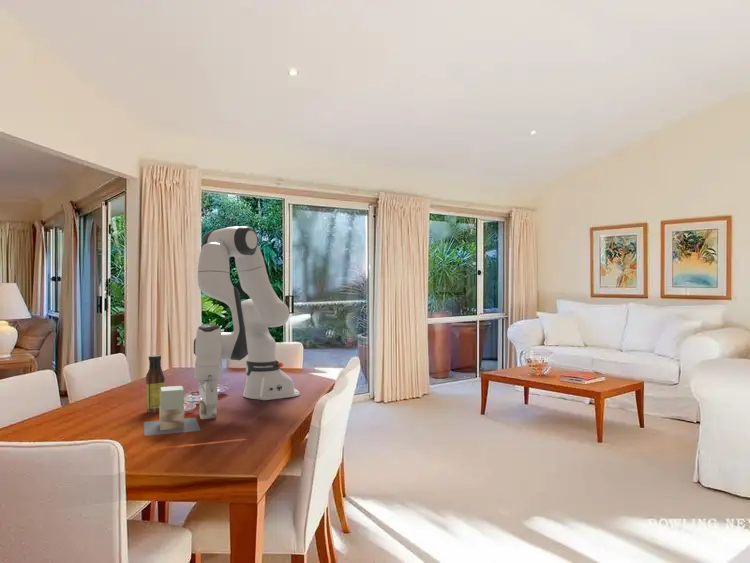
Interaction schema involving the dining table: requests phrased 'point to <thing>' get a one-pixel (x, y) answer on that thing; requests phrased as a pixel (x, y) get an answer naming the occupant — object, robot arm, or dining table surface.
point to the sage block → (172, 398)
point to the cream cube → (203, 411)
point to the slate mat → (154, 429)
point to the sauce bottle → (154, 384)
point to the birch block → (171, 419)
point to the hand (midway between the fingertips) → (207, 413)
